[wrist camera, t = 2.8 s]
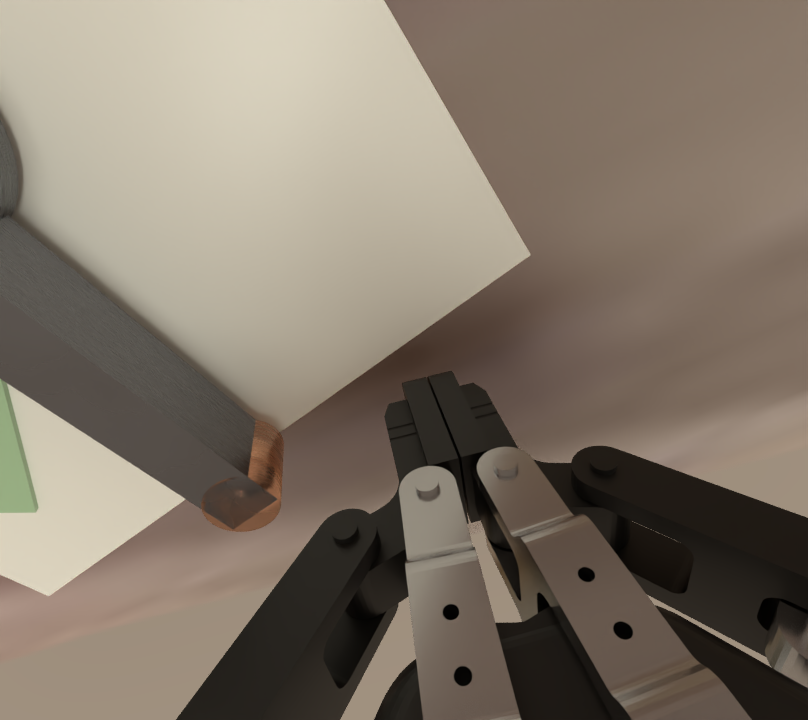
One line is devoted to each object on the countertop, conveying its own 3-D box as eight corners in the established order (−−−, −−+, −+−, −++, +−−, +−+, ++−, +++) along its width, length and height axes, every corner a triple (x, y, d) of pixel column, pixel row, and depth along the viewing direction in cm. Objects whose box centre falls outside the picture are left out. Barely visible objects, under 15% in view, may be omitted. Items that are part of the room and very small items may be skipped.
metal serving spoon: (-363, 111, 9) (-598, 128, 7) (-202, -85, 8) (-405, -146, 6) (215, 499, 16) (199, 575, 14) (335, 416, 15) (340, 481, 13)
